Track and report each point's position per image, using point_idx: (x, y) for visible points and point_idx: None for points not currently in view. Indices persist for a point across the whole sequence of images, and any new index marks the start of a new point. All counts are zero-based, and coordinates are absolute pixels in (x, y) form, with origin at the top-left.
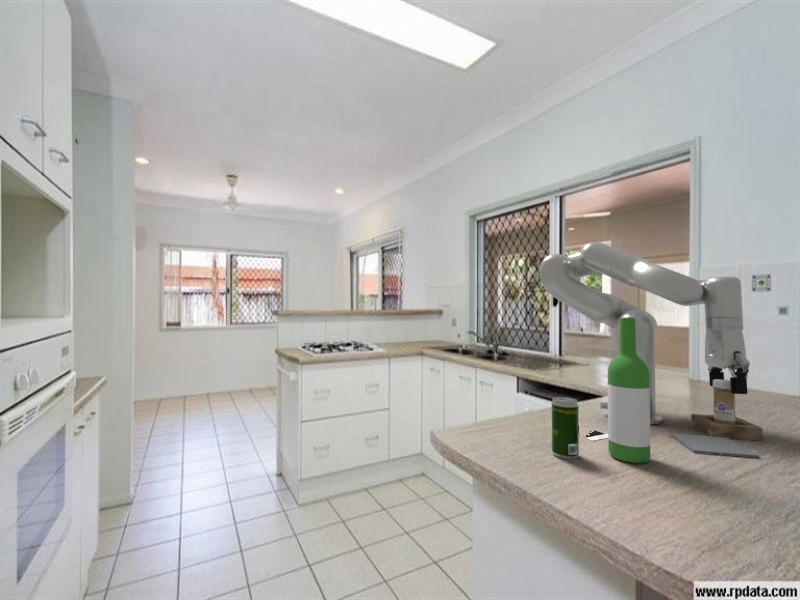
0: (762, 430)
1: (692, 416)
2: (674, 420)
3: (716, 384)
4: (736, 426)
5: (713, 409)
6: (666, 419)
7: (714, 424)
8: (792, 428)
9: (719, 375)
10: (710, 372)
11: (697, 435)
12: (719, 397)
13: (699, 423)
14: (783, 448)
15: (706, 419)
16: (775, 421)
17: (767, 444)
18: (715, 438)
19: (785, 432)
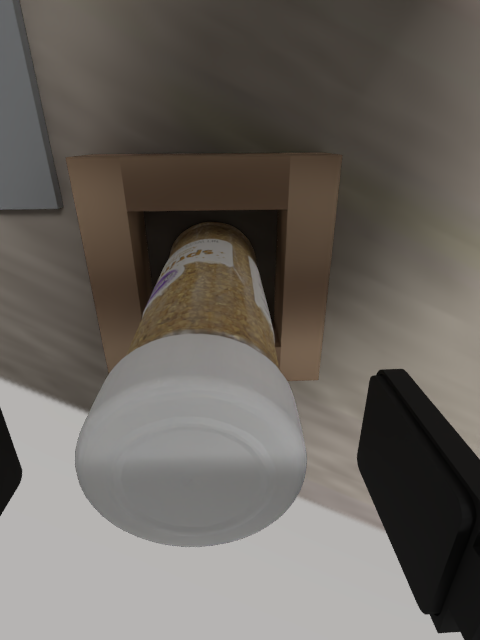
0: None
1: (323, 154)
2: (414, 83)
3: (139, 363)
4: (93, 287)
5: (223, 254)
6: (436, 30)
7: (85, 180)
8: (340, 511)
9: (415, 543)
10: (476, 505)
11: (19, 43)
12: (155, 312)
13: (227, 154)
14: (44, 373)
15: (206, 189)
16: None
17: (76, 346)
18: (4, 134)
19: None
